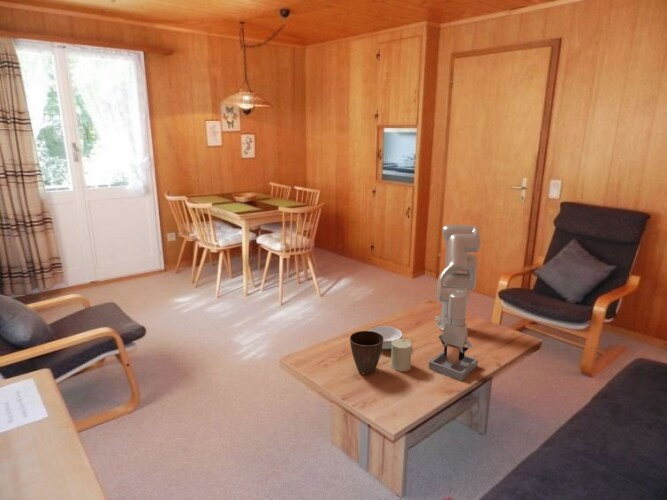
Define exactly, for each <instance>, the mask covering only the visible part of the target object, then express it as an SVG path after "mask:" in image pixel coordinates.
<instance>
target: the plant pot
mask: <svg viewBox="0 0 667 500" xmlns="http://www.w3.org/2000/svg"><path fill="white" fill-rule="evenodd" d="M383 339H384V338H383V336H382V335H381V334H379V333H376V332H372V331H369V330H359V331H357V332H356V331H355V332H353V333H352V334H351V335H349V342H350V343H349V344H350V348H351V349H350V350H351V354H352V357H353V358H352V359H353V361H354V363H355V366H356V369H357V371H358V373H360V372H361V373H364V374H363V375H366V374H368V375H372V374H374V373H375V371H376V369H377V367H378V363H379V361H380V358H381V354H382V350H383V349H382V345H383ZM373 372H374V373H373ZM361 373H360V374H361ZM371 373H372V374H371Z"/></svg>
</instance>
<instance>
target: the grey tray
mask: <svg viewBox="0 0 667 500" xmlns="http://www.w3.org/2000/svg"><path fill="white" fill-rule="evenodd" d="M446 358H447V355H446V356H445V352H444V350H443V351H441V352H440V353H438V355H436V356H435V357H433V358H432V359H431V360H429V361H428V369H429V370H431V371H433V372H436V373H439V374H442V375H444V376H447V377H450V378H453V379H455V380H457V381H461V382H463V381H464V380H465V379H466V378H467V377H468V376H469V375H470V374H471V373H472V372H473V371H475V369H477V368H478V367H479V366H478V364H479V359H477V358H474V357H472V356H468V355H464V358H463V359H462V360H461V363H460V364H450V363H448V362H447V361H446Z"/></svg>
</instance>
